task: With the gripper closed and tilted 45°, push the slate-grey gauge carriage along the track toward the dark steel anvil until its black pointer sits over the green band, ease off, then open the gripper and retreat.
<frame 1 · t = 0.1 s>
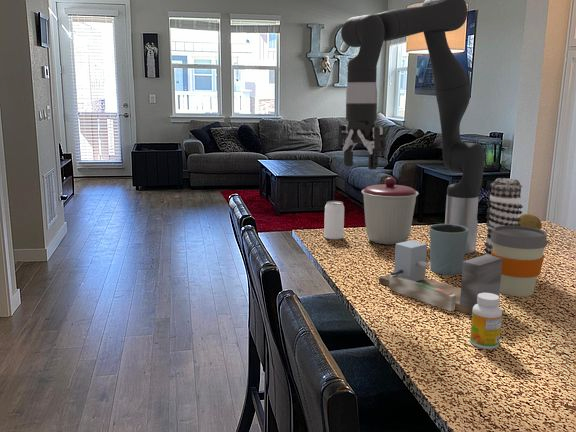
hand: (360, 167, 141), 29 cm above the kitchen island, tool pointing down, fingers open, 8 cm apart
can: (333, 238, 189), on the kitchen island
teal gray cup: (445, 271, 154), on the kitchen island
canister: (387, 241, 185), on the kitchen island
supplement bottle: (484, 344, 109), on the kitchen island
potato: (526, 237, 191), on the kitchen island
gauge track: (435, 294, 136), on the kitchen island
gauge carriage: (408, 263, 139), point 6 cm above the kitchen island, slide at 0.0 cm
reusable coffee cup: (513, 290, 139), on the kitchen island
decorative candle: (498, 269, 156), on the kitchen island
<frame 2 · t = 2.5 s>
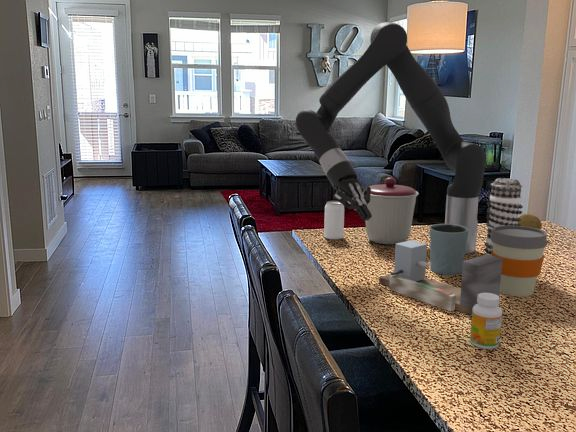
hand: (368, 218, 150), 15 cm above the kitchen island, tool tilted 45°, fingers closed
nothing on the kitchen island moved.
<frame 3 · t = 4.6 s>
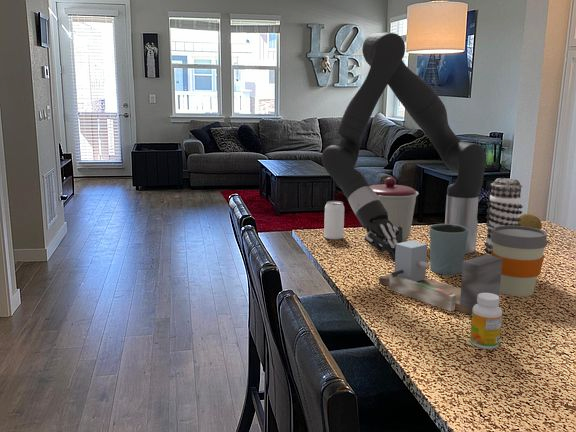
hand: (400, 262, 143), 5 cm above the kitchen island, tool tilted 45°, fingers closed
gauge carriage: (408, 263, 139), point 6 cm above the kitchen island, slide at 0.1 cm, touching gripper
everything else where it was.
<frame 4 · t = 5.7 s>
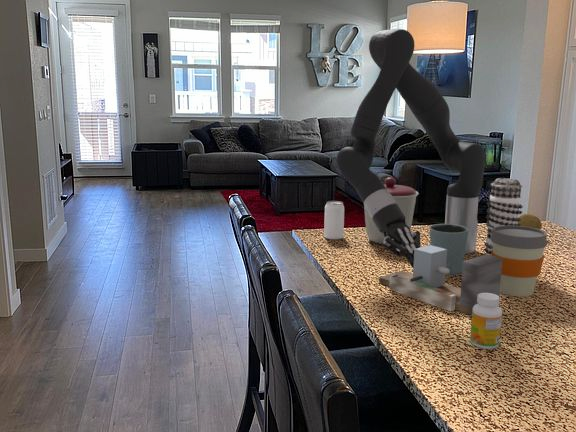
hand: (419, 267, 139), 5 cm above the kitchen island, tool tilted 45°, fingers closed
gauge carriage: (428, 269, 134), point 6 cm above the kitchen island, slide at 5.9 cm, touching gripper
everything else where it was.
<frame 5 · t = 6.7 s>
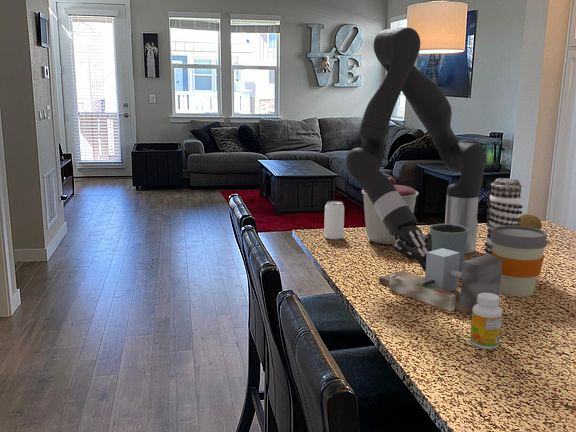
hand: (431, 271, 136), 5 cm above the kitchen island, tool tilted 45°, fingers closed
gauge carriage: (440, 273, 131), point 6 cm above the kitchen island, slide at 9.6 cm, touching gripper
everything else where it was.
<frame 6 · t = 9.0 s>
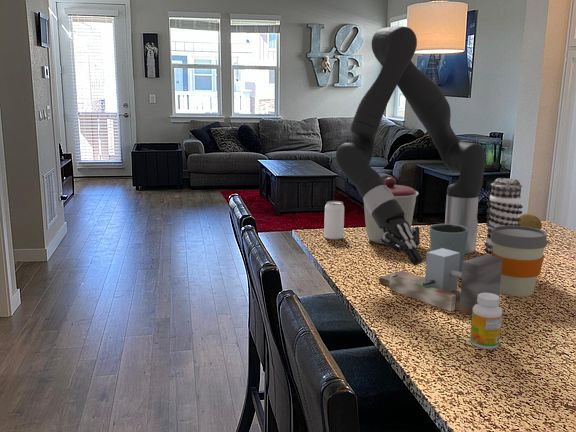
hand: (418, 263, 138), 6 cm above the kitchen island, tool tilted 45°, fingers closed
gauge carriage: (440, 273, 131), point 6 cm above the kitchen island, slide at 9.6 cm
everything else where it was.
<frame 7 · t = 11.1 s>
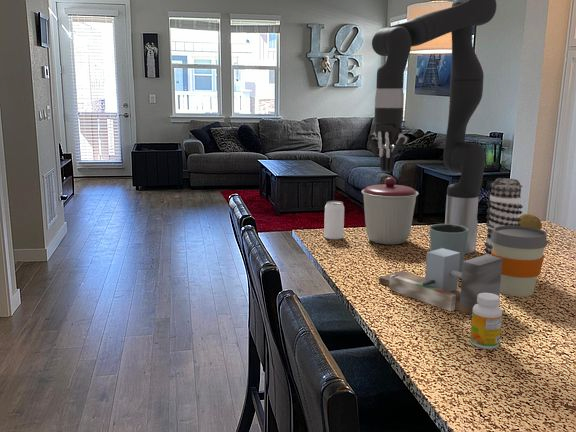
hand: (386, 170, 153), 27 cm above the kitchen island, tool pointing down, fingers closed
nothing on the kitchen island moved.
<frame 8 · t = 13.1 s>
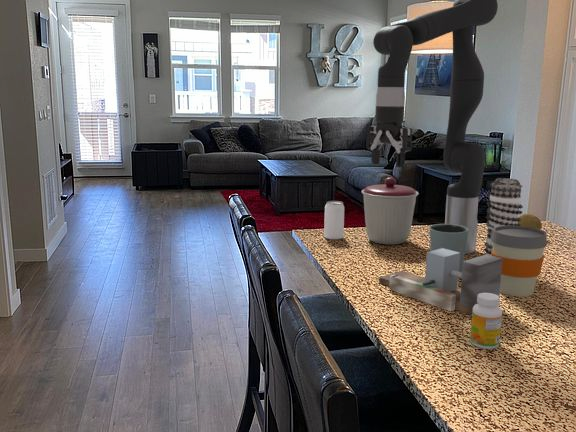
hand: (387, 165, 153), 28 cm above the kitchen island, tool pointing down, fingers open, 8 cm apart
nothing on the kitchen island moved.
at the end: gauge carriage slide at 9.6 cm; teal gray cup moved 0.2 cm from its start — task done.
